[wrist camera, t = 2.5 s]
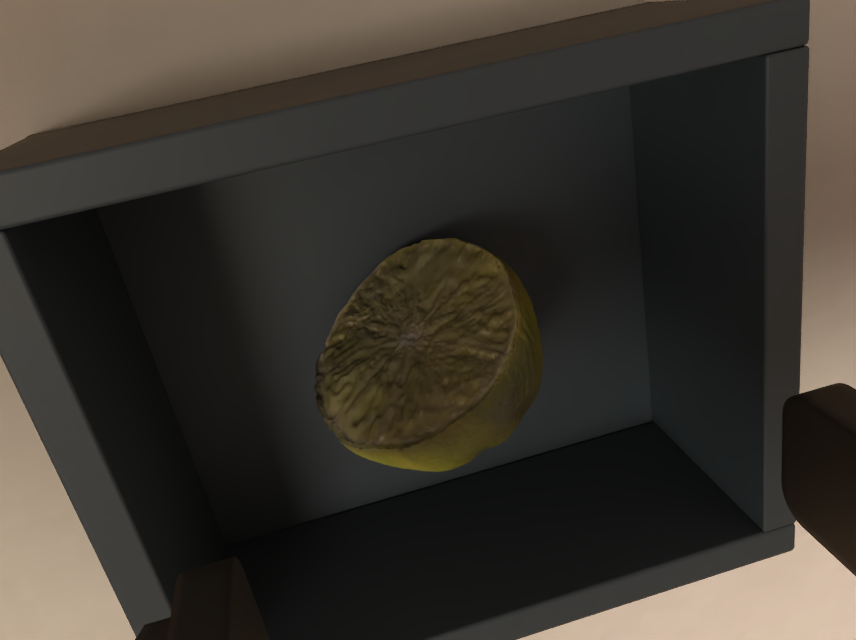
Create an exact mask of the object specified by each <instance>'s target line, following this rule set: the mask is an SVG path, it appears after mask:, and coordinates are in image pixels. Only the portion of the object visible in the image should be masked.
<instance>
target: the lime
mask: <svg viewBox="0 0 856 640" xmlns="http://www.w3.org/2000/svg"><path fill="white" fill-rule="evenodd" d="M325 344H326V348H325V349H324V351H323V352H322V353H320V355H319V357H318V360H317V362H316V376H315V379H316V381H317V383H316V384H315V387H314V389H315V392H316V394H317V395H316V400H317V402H316V404H317V406H318V410H319V412H320V413H321V414H322V417H323V419H324V421H325V423H326V425H327V426H328V428H329V429H330V430H332V432H333V433H334V434H335V435H336V436H337V437H338V439H339V441H340V442H341V443H342V444H343V445H344V446H345V447H346V448H348V449H349V450H351V451H352V452H354V453H355V454H357V455H359V456H361V457H364V458H367V459H369V460H371V461H375V462H378V463H381V464H384V465H389V466H393V467H398V468H402V469H411V470H419V471H434V472H441V471H448V470H452V469H454V468H457V467H460V466H463V465H465V464H466V463H469V462H470V461H471V460H473V459H474V458H475V457H476V456H477V455H478V454H480V453H481V452H482V451H484V450H486V449H488V448H491V447H494V446H497V445H499V444H501V443H502V442H504V441H506V440H507V439H508V438H509V437H510V435H511V434H512V432H513V431H514V430H515V429H516V427H517V426H518V425H519V423H520V422H521V420H522V418H523V416H524V415H525V413H526V412H527V411H528V410H529V408H530V407H531V405H532V403H533V401H534V400H535V398H536V396H537V394H538V392H539V389H540V385H541V378H542V368H543V353H542V345H541V336H540V332H539V328H538V325H537V319H536V316H535V312H534V308H533V304H532V302H531V299H530V297H529V295H528V293H527V291H526V289H525V288H524V286H523V284H522V282H521V281H520V279H519V277H518V276H517V275H516V274H515V272H514V271H513V270H512V268H511V267H510V266H509V265H508V264H507V263H506V262H505V261H504V260H502V259H501V258H500V257H499V256H497V255H495V254H493V253H492V252H490V251H489V250H487V249H484V248H483V247H481V246H478V245H476V244H473V243H470V242H467V241H464V240H461V239H458V238H445V239H429V240H422V241H421V242H420V243H418V244H417V243H415V244H413V245H412V246H407V247H404V248H401V249H400V250H398V251H396V252H395V253H393V254H392V255H390V256H388V257H387V258H386V259H385V260H384V261H382V262H381V263H380V264H379V265H378V266H377V268H376V269H375V270H374V271H373V272H372V273H371V274H370V275H369V276H368V277H367V278H366V279H365V280H364V281H363V282H362V283H361V284H360V285H359V286H358V287H357V289H356V290H355V291H354V293H353V294H352V295H351V297H350V298H349V300H348V302H347V303H346V305H345V306H344V307H343V308H342V309H341V311H340V312H339V314H338V316H337V318H336V320H335V323H334V325H333V326H332V329H331V332H330V334H329V336H328V337H327V340H326V343H325Z"/></svg>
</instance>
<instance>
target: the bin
mask: <svg viewBox="0 0 856 640" xmlns="http://www.w3.org/2000/svg"><path fill="white" fill-rule="evenodd" d="M809 11H810V0H681V1H663V2H647V3H642V4H637V5H633V6H628V7H623V8H619V9H614V10H609V11H605V12H600V13H595V14H591V15H586V16H582V17H577V18H572V19H568V20H563V21H558V22H554V23H549V24H544V25H540V26H535V27H530V28H526V29H521V30H516V31H512V32H507V33H503V34H498V35H493V36H489V37H484V38H479V39H475V40H470V41H465V42H461V43H456V44H451V45H447V46H442V47H438V48H433V49H428V50H424V51H419V52H414V53H410V54H405V55H400V56H396V57H391V58H386V59H382V60H377V61H372V62H368V63H363V64H359V65H354V66H349V67H345V68H340V69H335V70H331V71H326V72H321V73H317V74H312V75H307V76H303V77H298V78H293V79H289V80H284V81H280V82H275V83H270V84H266V85H261V86H256V87H252V88H247V89H242V90H238V91H233V92H228V93H224V94H219V95H214V96H210V97H205V98H201V99H196V100H191V101H187V102H182V103H177V104H173V105H168V106H163V107H159V108H154V109H149V110H145V111H140V112H135V113H131V114H126V115H122V116H117V117H112V118H108V119H103V120H98V121H94V122H89V123H84V124H80V125H75V126H70V127H66V128H61V129H57V130H52V131H47V132H43V133H38V134H33V135H30V136H28V137H26V138H25V139H23V140H21V141H19V142H17V143H15V144H13V145H11V146H9V147H6V148H4V149H2V150H0V355H1V357H2V359H3V361H4V363H5V365H6V367H7V370H8V372H9V374H10V376H11V378H12V380H13V382H14V384H15V386H16V388H17V390H18V392H19V394H20V396H21V399H22V401H23V403H24V405H25V407H26V409H27V411H28V413H29V415H30V417H31V419H32V421H33V423H34V426H35V428H36V430H37V432H38V434H39V436H40V438H41V440H42V442H43V444H44V446H45V448H46V450H47V453H48V455H49V457H50V459H51V461H52V463H53V465H54V467H55V469H56V471H57V473H58V475H59V477H60V480H61V482H62V484H63V486H64V488H65V490H66V492H67V494H68V496H69V498H70V500H71V502H72V504H73V507H74V509H75V511H76V513H77V515H78V517H79V519H80V521H81V523H82V525H83V527H84V529H85V531H86V534H87V536H88V538H89V540H90V542H91V544H92V546H93V548H94V550H95V552H96V554H97V556H98V558H99V560H100V563H101V565H102V567H103V569H104V571H105V573H106V575H107V577H108V579H109V581H110V583H111V585H112V587H113V590H114V592H115V594H116V596H117V598H118V600H119V602H120V604H121V606H122V608H123V610H124V612H125V614H126V617H127V619H128V621H129V623H130V625H131V627H132V629H133V631H134V633H135V635H136V637H137V636H138V634H139V633H140V631H141V629H142V628H143V626H144V625H146V624H149V623H152V622H156V621H159V620H162V619H166V618H169V617H170V616H171V610H172V604H173V597H174V591H175V584H176V579H177V576H178V574H179V573H180V572H183V571H186V570H190V569H193V568H197V567H200V566H204V565H207V564H211V563H214V562H217V561H221V560H224V559H228V558H231V557H237V558H238V559H239V561H240V563H241V565H242V567H243V569H244V572H245V575H246V577H247V580H248V583H249V585H250V588H251V591H252V593H253V596H254V598H255V601H256V604H257V606H258V609H259V612H260V614H261V617H262V620H263V622H264V625H265V628H266V630H267V633H268V636H269V638H270V640H516V639H520V638H523V637H526V636H529V635H532V634H535V633H538V632H541V631H544V630H547V629H550V628H553V627H557V626H560V625H563V624H566V623H569V622H572V621H575V620H578V619H581V618H584V617H587V616H591V615H594V614H597V613H600V612H603V611H606V610H609V609H612V608H615V607H618V606H621V605H625V604H628V603H631V602H634V601H637V600H640V599H643V598H646V597H649V596H652V595H655V594H659V593H662V592H665V591H668V590H671V589H674V588H677V587H680V586H683V585H686V584H689V583H693V582H696V581H699V580H702V579H705V578H708V577H711V576H714V575H717V574H720V573H723V572H727V571H730V570H733V569H736V568H739V567H742V566H745V565H748V564H751V563H754V562H757V561H760V560H764V559H767V558H770V557H773V556H776V555H779V554H782V553H785V552H788V551H791V550H793V549H794V538H795V525H794V522H795V521H796V519H795V517H794V516H793V514H792V513H791V511H790V509H789V507H788V505H787V503H786V501H785V498H784V495H783V491H782V484H781V470H782V412H783V406H784V403H785V401H786V400H787V399H788V398H789V397H791V396H795V395H798V394H799V388H800V352H801V317H802V281H803V246H804V210H805V175H806V139H807V104H808V68H809V48H808V47H807V46H804V45H805V44H807V43H808V40H809ZM445 238H458V239H461V240H464V241H467V242H470V243H473V244H476V245H478V246H481V247H483V248H484V249H487V250H489V251H490V252H492V253H493V254H495V255H497V256H499V257H500V258H501V259H502V260H504V261H505V262H506V263H507V264H508V265H509V266H510V267H511V268H512V270H513V271H514V272H515V274H516V275H517V276H518V277H519V279H520V281H521V282H522V284H523V286H524V288H525V289H526V291H527V293H528V295H529V297H530V299H531V302H532V304H533V308H534V312H535V316H536V319H537V325H538V328H539V332H540V336H541V345H542V353H543V368H542V378H541V385H540V389H539V392H538V394H537V396H536V398H535V400H534V401H533V403H532V405H531V407H530V408H529V410H528V411H527V412H526V413H525V415H524V416H523V418H522V420H521V422H520V423H519V425H518V426H517V427H516V429H515V430H514V431H513V432H512V434H511V435H510V437H509V438H508V439H507V440H506V441H504V442H502V443H501V444H499V445H497V446H494V447H491V448H488V449H486V450H484V451H482V452H481V453H480V454H478V455H477V456H476V457H475V458H474V459H473V460H471V461H470V462H469V463H466V464H465V465H463V466H460V467H457V468H454V469H452V470H448V471H441V472H434V471H419V470H411V469H402V468H398V467H393V466H389V465H384V464H381V463H378V462H375V461H371V460H369V459H367V458H364V457H361V456H359V455H357V454H355V453H354V452H352V451H351V450H349V449H348V448H346V447H345V446H344V445H343V444H342V443H341V442H340V441H339V439H338V437H337V436H336V435H335V434H334V433H333V432H332V430H330V429H329V428H328V426H327V425H326V423H325V421H324V419H323V417H322V414H321V413H320V412H319V410H318V406H317V404H316V402H317V400H316V395H317V394H316V392H315V389H314V387H315V384H316V383H317V381H316V379H315V376H316V362H317V360H318V357H319V355H320V353H322V352H323V351H324V349H325V348H326V344H325V343H326V340H327V337H328V336H329V334H330V332H331V329H332V326H333V325H334V323H335V320H336V318H337V316H338V314H339V312H340V311H341V309H342V308H343V307H344V306H345V305H346V303H347V302H348V300H349V298H350V297H351V295H352V294H353V293H354V291H355V290H356V289H357V287H358V286H359V285H360V284H361V283H362V282H363V281H364V280H365V279H366V278H367V277H368V276H369V275H370V274H371V273H372V272H373V271H374V270H375V269H376V268H377V266H378V265H379V264H380V263H381V262H382V261H384V260H385V259H386V258H387V257H388V256H390V255H392V254H393V253H395V252H396V251H398V250H400V249H401V248H404V247H407V246H412V245H413V244H415V243H417V244H418V243H420V242H421V241H422V240H429V239H445Z"/></svg>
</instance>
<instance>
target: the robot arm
mask: <svg viewBox="0 0 856 640" xmlns="http://www.w3.org/2000/svg"><path fill="white" fill-rule="evenodd" d="M781 484H782V491H783V495H784V498H785V501H786V503H787V505H788V507H789V509H790V511H791V513H792V514H793V516H794V517H795V519H796V520H797V521H798V523H799V524H800V525H801V526H802V527H803V528H804V529H805V530H807V531H808V532H809V533H810V534H811V535H812V536H813V537H814V538H815V539H816V540H817V541H818V542H819V543H821V544H822V545H823V546H824V547H825V548H826V549H827V550H828V551H829V552H830V553H831V554H832V555H833V556H835V557H836V558H837V559H838V560H839V561H840V562H841V563H842V564H843V565H844V566H845V567H846V568H847V569H849V570H850V571H851V572H852V573H853V574H854V575H855V576H856V389H854V388H852V387H851V386H849V385H846V384H843V383H836V384H832V385H829V386H826V387H822V388H819V389H815V390H812V391H808V392H805V393H801V394H798V395H795V396H791V397H789V398H788V399H787V400H786V401H785V403H784V406H783V412H782V470H781ZM135 640H270V638H269V636H268V633H267V630H266V628H265V625H264V622H263V620H262V617H261V614H260V612H259V609H258V606H257V604H256V601H255V598H254V596H253V593H252V591H251V588H250V585H249V583H248V580H247V577H246V575H245V572H244V569H243V567H242V565H241V563H240V561H239V559H238V558H237V557H231V558H228V559H224V560H221V561H217V562H214V563H211V564H207V565H204V566H200V567H197V568H193V569H190V570H186V571H183V572H180V573H179V574H178V576H177V579H176V584H175V591H174V597H173V604H172V610H171V616H170V617H169V618H166V619H162V620H159V621H156V622H152V623H149V624H146V625H144V626H143V628H142V629H141V631H140V633H139V634H138V636H137V637H136V639H135Z"/></svg>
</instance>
